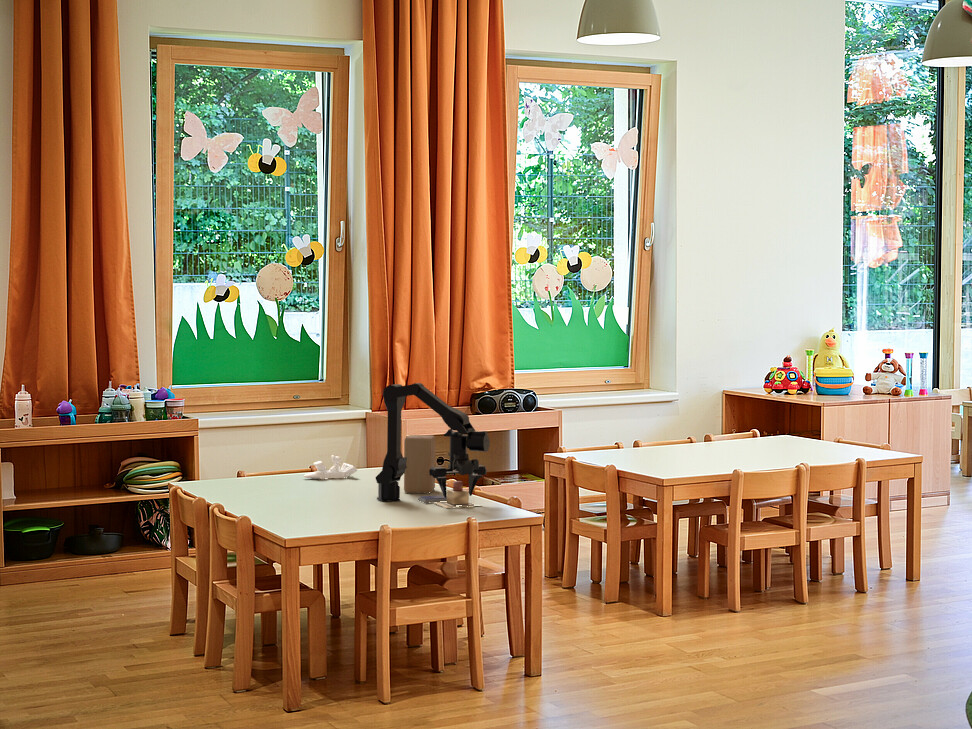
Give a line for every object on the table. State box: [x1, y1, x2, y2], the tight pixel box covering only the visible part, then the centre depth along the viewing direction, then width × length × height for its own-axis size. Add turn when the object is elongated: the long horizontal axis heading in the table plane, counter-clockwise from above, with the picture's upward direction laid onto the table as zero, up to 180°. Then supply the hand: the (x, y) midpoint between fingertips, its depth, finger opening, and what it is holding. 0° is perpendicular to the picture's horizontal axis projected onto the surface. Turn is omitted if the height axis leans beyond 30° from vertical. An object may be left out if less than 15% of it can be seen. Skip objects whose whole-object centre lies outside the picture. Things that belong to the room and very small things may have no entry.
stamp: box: [446, 480, 470, 506], centre depth 382 cm, size 6×6×8 cm
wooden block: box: [403, 434, 436, 494], centre depth 411 cm, size 10×10×20 cm
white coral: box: [303, 454, 358, 480], centre depth 442 cm, size 11×20×9 cm, turn 116°
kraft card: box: [434, 501, 475, 509], centre depth 382 cm, size 13×11×1 cm
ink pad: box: [417, 494, 447, 504], centre depth 390 cm, size 10×7×2 cm
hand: (457, 496), depth 382 cm, fingers open, 9 cm apart
